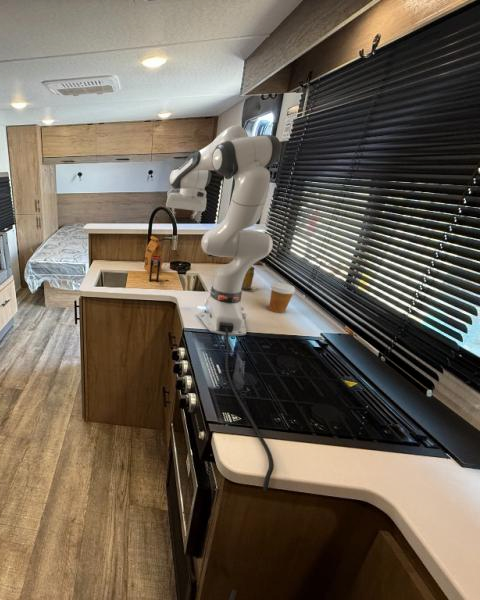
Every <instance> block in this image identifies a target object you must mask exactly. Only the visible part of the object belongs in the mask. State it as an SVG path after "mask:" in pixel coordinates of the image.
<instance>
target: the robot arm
mask: <svg viewBox="0 0 480 600" xmlns="http://www.w3.org/2000/svg"><path fill="white" fill-rule="evenodd" d="M281 152H282V143H281V141H280V139H279V138H278V137H277V136H276V135H271V134H257V135H253V136H249V134H248V132H247V130H246V129H245V128H244V127H242V126H240V125H231V126H229V127H227V128H226V129H224V130H223V131H222V132H220V133H219V134H218V135H217V136H216V137H215V138H214V140H213V141H212V142H211V143H209V144H208V145H207V146H205V147H203V148H201V149H199V150H197V151H196V152H194V153H192V154H191V155H190V156H189V157H187V158H186V159H185V160H184V161H183V162H182V163H181V164H179V165H177V166H176V165H175V167H174V168H173V169H172V170H171V172H170V174H169V180H168V182H169V185H170V186H171V187H172V188H171V189H169V190H167V193H166V197H167V200H166V202H165V206H166V208H170V209H171V211H172V217H176V216H177V212H175V209H179V210H185V211H186V210H188V211H194V213H192V214H191V215H190V219H192V220H193V219H195V216H196V215H197V214H198V212H205V211H206V208H207V194H208V193H207V191H206V189H205V188H206V187H207V186H209V184H210V183H211V179H212V172H211V171H215V172H216V173H217V174H218V175H220V176H223V177H224V179H226V180H231V179H232V178H233V180H234V188H233V191H232V195H231V198H230V201H229V202H230V203H229V206H228V209H227V212H226V215H225V217H224V218H223V219H222V221H221V222H220V223H218V224H217V225H216V226H215V227H213V228H211V229H209V230H207V231H206V232H205V233H204V235H202V238H201V240H200V246H201V249H202V251H203V252H204V253H205V254H206V255H209V256H214V257H219V258H231V259H232V258H233V259H232V260H231V261H230V262H228V263H226V264H223V265H221V266H219V267H218V268H217V269H216V270H215V272H214V277H213V282H212V286H211V287H210V291H209V292H210V293H209V294H210V295H209V297H207V298H206V299H205V300H204V305H203V306H200V305H197V309H201V310H202V312H200V313H199V314H198V316H197V317H198V318H199V320H200V321H201V322H202V323H203V325H204V326H205V327H206V328H207V330H208V331H209V332H211V333H213V334H218V335H223V336H225V346H226V354H225V359H224V360H225V361H224V364H225V365H224V367H225V373H226V376H227V377H226V378H227V380H228V383H229V386H230V388H231V390H232V392H233V394H234V396H235V398H236V400H237V402H238V403H239V405H240V407H241V409H242V410H243V413H244V414H245V416H246V417H247V419H248V421H249V422H250V424H251V426H252V428H253V429H254V431H255V433H256V435H257V437H258V439H259V441H260V443H261V444H262V446H263V447H264V450H265V452H266V456H267V458H268V468H267V471H266V474H265V477H264V481H263V484H262V485H263V486H262V490H263V491H264V492H268V490H269V485H270V480H271V477H272V474H273V472H274V466H275V464H274V459H273V455H272V452H271V450H270V448H269V446H268V444H267V443H266V441H265V438H264V437H263V436H262V433H261V431H260V430H259V428H258V426H257V424H256V423H255V421H254V420H253V418H252V416H251V415H250V413H249V411H248V409H247V408H246V406H245V404H244V402H243V401H242V399H241V397H240V395H239V394H238V391H237V389H236V387H235V385H234V383H233V381H232V377H231V374H230V368H229V357H230V345H229V336H231V337H240V336H241V337H242V336H246V335H247V328H246V324H245V323H246V322H245V320H246V319H247V313H245V312H244V313H243V311H244V310H245V307H243V306H242V303H243V301H242V295H243V294H242V293H243V291H242V289H241V288H242V284H243V281H244V278H245V275H246V273H247V271H248V270H249V268H250V267H253V266H254V265H255V264H256V263H257V262H259V261H261V260H263V259H264V258H266V257H268V256H269V255H270V253H271V252H272V251H273V246H274V240H273V238H272V236H271V235H270V234H269V233H267V232H263V231H258V230H246V229H247V228H250V227H253V226H254V225H255V224H257V223H258V222H259V221H260V219H261V216H262V214H263V210H264V207H265V204H266V201H267V198H268V194H269V189H270V183H271V172H270V171H269V169H268V167H271V166H273V165H275V164H276V162H277V161H278V160H279V158H280V155H281ZM237 592H238V590H236V589H232V590H231V593H230V596H229V599H228V600H235V598H236V594H237Z"/></svg>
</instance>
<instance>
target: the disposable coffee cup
mask: <svg viewBox="0 0 480 600" xmlns="http://www.w3.org/2000/svg"><path fill="white" fill-rule="evenodd" d="M295 293H296V287H295V286H293V285H292V284H288V283H285V282H274V283H272V284H271V286H270V299H269V307H268V309H269V311H271V312H273V313H278V314H279V313H281V314H283V313H285V312H286V309H287V307H288V305H289V303H290V301H291V299H292V297H293V295H294V294H295Z"/></svg>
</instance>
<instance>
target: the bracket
mask: <svg viewBox="0 0 480 600" xmlns="http://www.w3.org/2000/svg"><path fill="white" fill-rule="evenodd" d="M150 264H151V265H150V273H149V276H148V277H149V278H148V281H149V282H150V283H151V282H152V275H153V273H152V267H153V260H152V259H151V261H150ZM160 264H161V262H160V260H158V266H157V273H156V276H155V279H156V280H155V282H156V283H159V279H160V273H159V270H160Z"/></svg>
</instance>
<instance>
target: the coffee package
mask: <svg viewBox="0 0 480 600" xmlns="http://www.w3.org/2000/svg"><path fill="white" fill-rule="evenodd" d="M150 239H151V240H150V241H149V243H148V244H147V245H146V246H145V256H144V270H145V271H146V272H147V273H149V274H150V265H151V264H150V261H151V259H152V257H159V258H162V260H160V262H161V264H160V270H159V274H161V273H162V266H163V252H162V247H161V244H160V241H159V239H158V237H156V236H154V235H151V236H150ZM153 261H154V260H153ZM157 266H158V263H157ZM157 266H156V265H153V267H152V274H157Z"/></svg>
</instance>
